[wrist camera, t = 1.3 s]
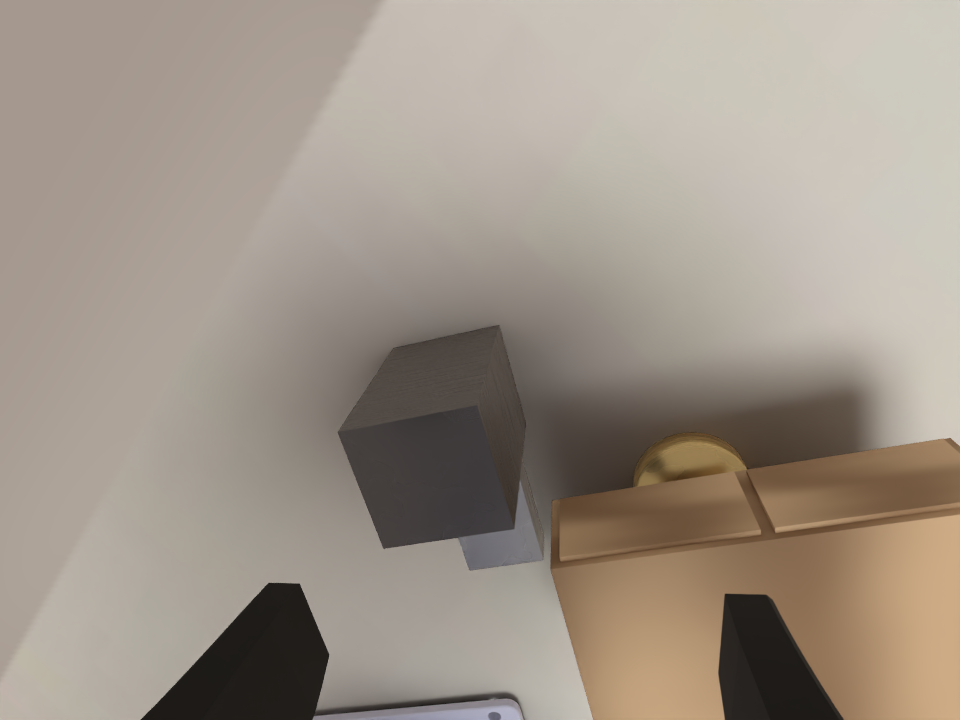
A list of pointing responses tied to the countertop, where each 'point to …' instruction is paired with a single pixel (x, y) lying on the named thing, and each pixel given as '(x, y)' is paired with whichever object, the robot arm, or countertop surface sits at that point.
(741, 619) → the robot arm
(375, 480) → the dark grey block
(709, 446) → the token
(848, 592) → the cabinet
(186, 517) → the countertop surface
